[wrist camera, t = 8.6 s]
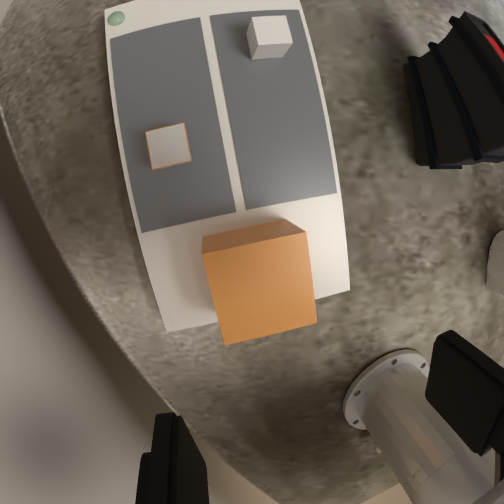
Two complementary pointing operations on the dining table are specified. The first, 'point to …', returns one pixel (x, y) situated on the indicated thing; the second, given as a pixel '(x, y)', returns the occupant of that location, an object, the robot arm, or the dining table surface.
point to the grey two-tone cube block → (168, 146)
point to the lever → (268, 37)
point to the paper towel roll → (496, 264)
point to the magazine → (458, 97)
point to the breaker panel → (221, 141)
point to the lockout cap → (260, 280)
